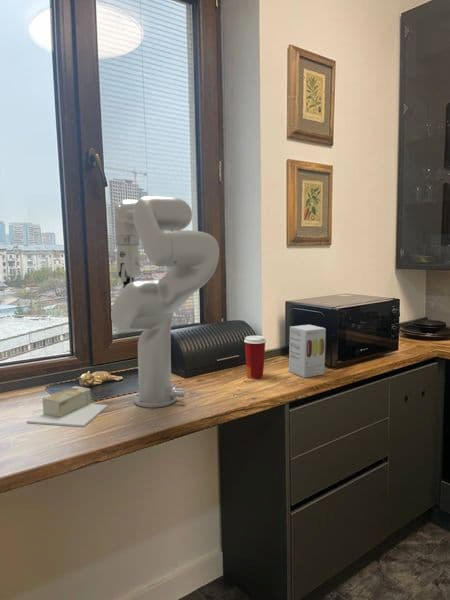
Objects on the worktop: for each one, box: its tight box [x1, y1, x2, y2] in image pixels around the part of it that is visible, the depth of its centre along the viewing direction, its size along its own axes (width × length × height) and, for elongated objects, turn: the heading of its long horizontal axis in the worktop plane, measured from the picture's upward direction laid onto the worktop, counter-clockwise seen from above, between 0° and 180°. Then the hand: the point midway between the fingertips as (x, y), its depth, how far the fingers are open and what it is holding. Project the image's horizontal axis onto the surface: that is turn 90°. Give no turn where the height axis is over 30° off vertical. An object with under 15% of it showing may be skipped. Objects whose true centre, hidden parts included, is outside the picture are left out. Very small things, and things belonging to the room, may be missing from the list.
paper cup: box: [243, 335, 267, 380], centre depth 152 cm, size 8×8×14 cm
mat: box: [26, 403, 108, 428], centre depth 119 cm, size 16×14×1 cm
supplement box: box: [288, 324, 327, 379], centre depth 156 cm, size 10×9×17 cm
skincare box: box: [42, 385, 92, 417], centre depth 122 cm, size 6×4×12 cm
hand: (129, 298), depth 142 cm, fingers closed
